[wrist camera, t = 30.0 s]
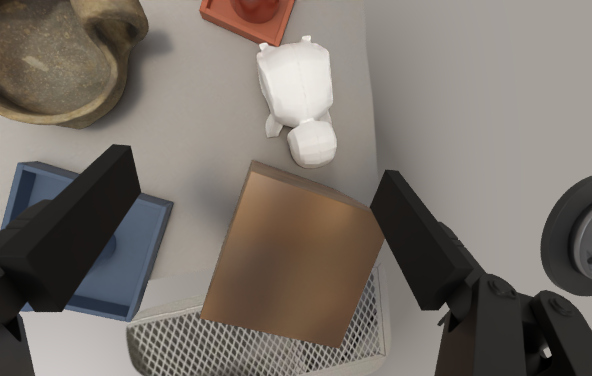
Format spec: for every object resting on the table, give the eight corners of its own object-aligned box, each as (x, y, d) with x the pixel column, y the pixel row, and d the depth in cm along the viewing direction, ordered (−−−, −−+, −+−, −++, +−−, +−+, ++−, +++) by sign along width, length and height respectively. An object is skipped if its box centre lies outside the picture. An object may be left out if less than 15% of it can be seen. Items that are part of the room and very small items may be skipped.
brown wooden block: (335, 189, 36) (392, 220, 21) (305, 268, 37) (339, 349, 22) (252, 159, 33) (250, 170, 18) (222, 244, 34) (199, 318, 20)
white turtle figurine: (252, 78, 34) (279, 185, 32) (244, 26, 26) (279, 165, 23) (313, 67, 35) (345, 169, 33) (324, 13, 27) (368, 144, 24)
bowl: (-27, 17, 26) (-191, -58, 17) (144, -23, 28) (88, -111, 18) (39, 147, 29) (-69, 147, 19) (191, 103, 31) (163, 84, 21)
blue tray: (173, 202, 32) (167, 207, 30) (138, 310, 34) (130, 322, 31) (37, 161, 29) (17, 162, 27) (5, 281, 31) (-16, 293, 28)
